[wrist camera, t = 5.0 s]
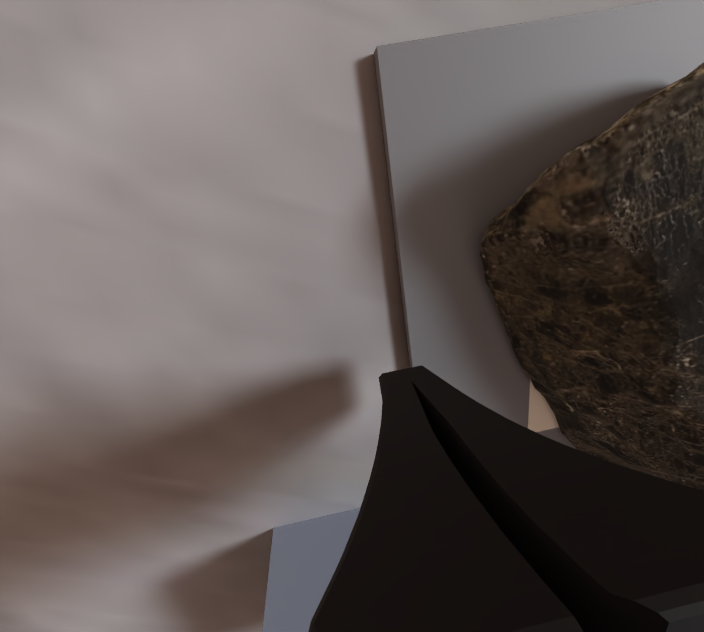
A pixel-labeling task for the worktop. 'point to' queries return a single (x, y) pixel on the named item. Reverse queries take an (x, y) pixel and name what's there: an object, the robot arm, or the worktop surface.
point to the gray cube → (303, 569)
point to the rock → (615, 286)
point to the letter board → (503, 163)
